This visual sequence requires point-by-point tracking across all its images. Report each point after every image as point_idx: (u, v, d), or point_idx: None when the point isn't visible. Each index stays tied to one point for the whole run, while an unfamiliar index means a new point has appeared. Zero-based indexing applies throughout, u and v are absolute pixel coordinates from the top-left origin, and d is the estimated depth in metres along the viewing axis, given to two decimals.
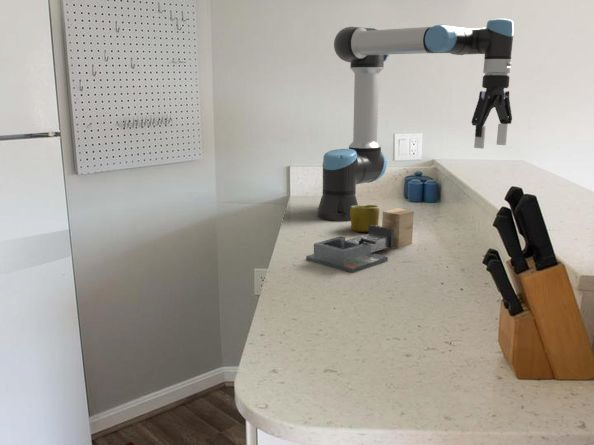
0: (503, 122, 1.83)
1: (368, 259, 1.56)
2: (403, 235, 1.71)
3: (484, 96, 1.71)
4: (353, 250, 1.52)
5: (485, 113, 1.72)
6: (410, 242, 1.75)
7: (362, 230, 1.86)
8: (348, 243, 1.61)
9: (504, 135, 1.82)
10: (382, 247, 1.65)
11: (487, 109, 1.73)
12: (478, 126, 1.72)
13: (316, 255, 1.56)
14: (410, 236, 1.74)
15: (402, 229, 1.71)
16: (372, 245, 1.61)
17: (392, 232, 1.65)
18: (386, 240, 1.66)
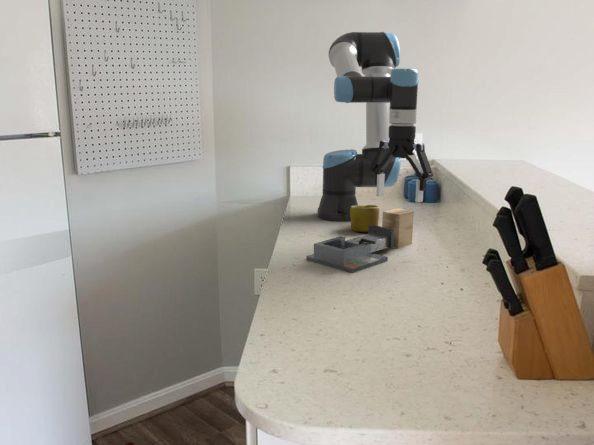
0: None
1: (368, 259, 1.56)
2: (403, 235, 1.71)
3: None
4: (353, 250, 1.52)
5: None
6: (410, 242, 1.75)
7: (362, 230, 1.86)
8: (348, 243, 1.61)
9: None
10: (382, 247, 1.65)
11: None
12: None
13: (316, 255, 1.56)
14: (410, 236, 1.74)
15: (402, 229, 1.71)
16: (372, 245, 1.61)
17: (392, 232, 1.65)
18: (386, 240, 1.66)
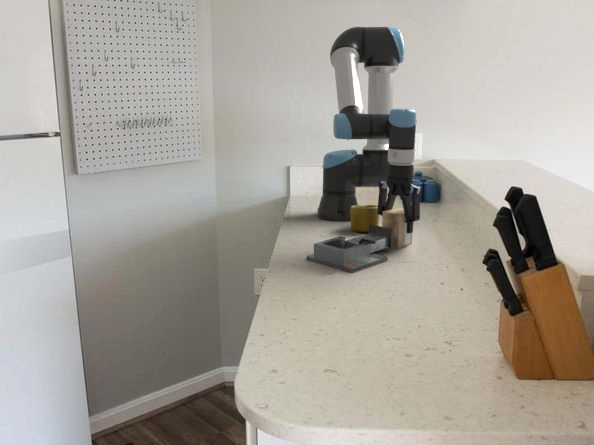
0: None
1: (368, 259, 1.56)
2: None
3: None
4: (353, 250, 1.52)
5: None
6: (410, 242, 1.75)
7: (362, 230, 1.86)
8: (348, 243, 1.61)
9: None
10: (382, 247, 1.65)
11: None
12: None
13: (316, 255, 1.56)
14: (410, 236, 1.74)
15: (402, 229, 1.71)
16: (372, 245, 1.61)
17: (392, 232, 1.65)
18: (386, 240, 1.66)
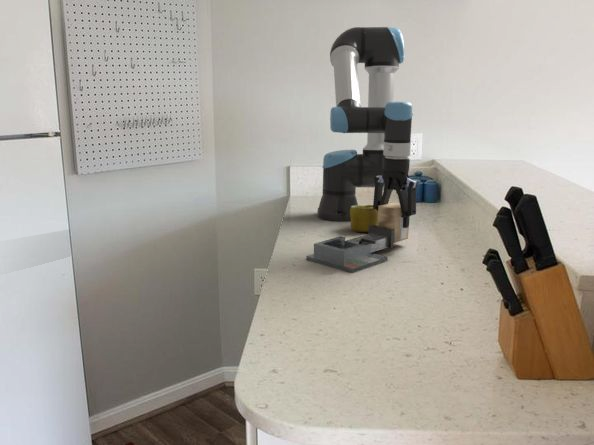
0: None
1: (368, 259, 1.56)
2: None
3: None
4: (353, 250, 1.52)
5: None
6: (406, 237, 1.73)
7: (362, 230, 1.86)
8: (348, 243, 1.61)
9: None
10: (382, 247, 1.65)
11: None
12: None
13: (316, 255, 1.56)
14: None
15: (398, 224, 1.69)
16: (372, 245, 1.61)
17: (392, 232, 1.65)
18: (386, 240, 1.66)
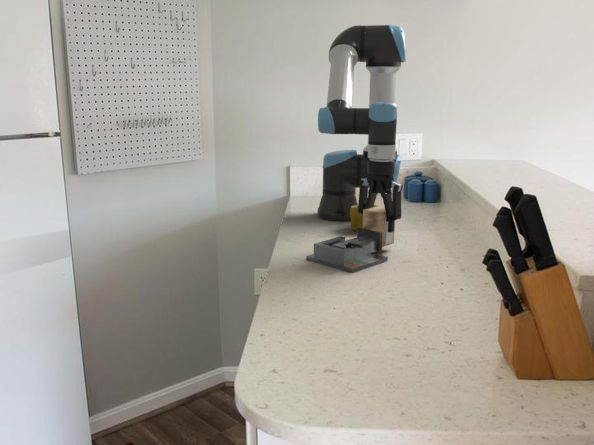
0: None
1: (368, 259, 1.56)
2: None
3: None
4: (353, 250, 1.52)
5: None
6: (392, 241, 1.68)
7: None
8: None
9: None
10: None
11: None
12: None
13: (316, 255, 1.56)
14: (392, 235, 1.67)
15: (383, 228, 1.64)
16: None
17: (380, 236, 1.62)
18: (375, 244, 1.62)
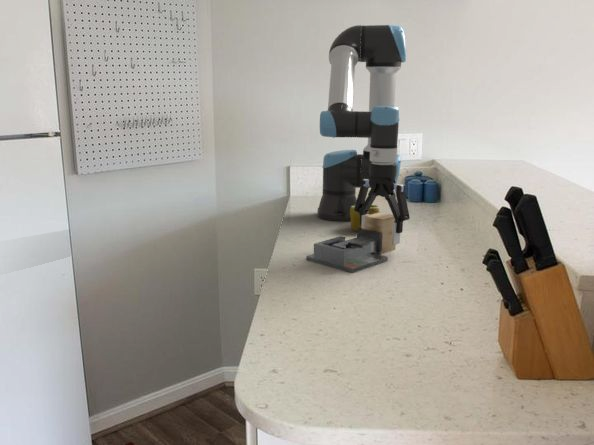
0: None
1: (368, 259, 1.56)
2: (385, 240, 1.66)
3: None
4: (353, 250, 1.52)
5: None
6: (393, 247, 1.69)
7: None
8: None
9: None
10: None
11: None
12: None
13: (316, 255, 1.56)
14: None
15: (385, 234, 1.65)
16: None
17: (380, 236, 1.62)
18: (375, 244, 1.62)
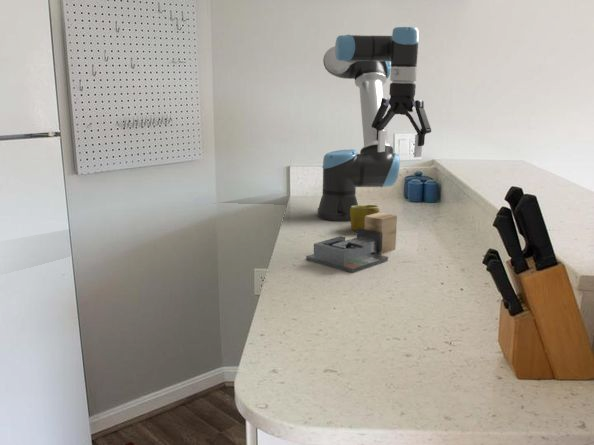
0: None
1: (368, 259, 1.56)
2: (385, 240, 1.66)
3: None
4: (353, 250, 1.52)
5: None
6: (393, 247, 1.69)
7: None
8: None
9: None
10: None
11: None
12: None
13: (316, 255, 1.56)
14: (393, 241, 1.68)
15: (385, 234, 1.65)
16: None
17: (380, 236, 1.62)
18: (375, 244, 1.62)
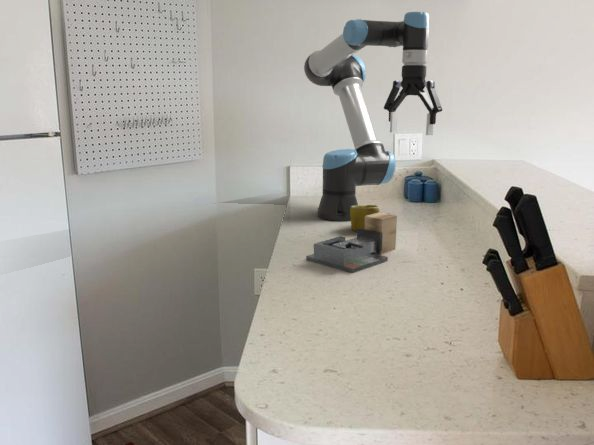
0: None
1: (368, 259, 1.56)
2: (385, 240, 1.66)
3: None
4: (353, 250, 1.52)
5: None
6: (393, 247, 1.69)
7: None
8: None
9: None
10: None
11: None
12: None
13: (316, 255, 1.56)
14: (393, 241, 1.68)
15: (385, 234, 1.65)
16: None
17: (380, 236, 1.62)
18: (375, 244, 1.62)
